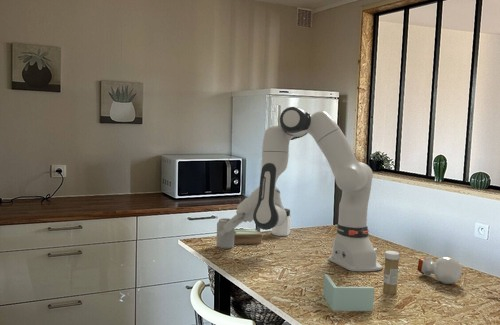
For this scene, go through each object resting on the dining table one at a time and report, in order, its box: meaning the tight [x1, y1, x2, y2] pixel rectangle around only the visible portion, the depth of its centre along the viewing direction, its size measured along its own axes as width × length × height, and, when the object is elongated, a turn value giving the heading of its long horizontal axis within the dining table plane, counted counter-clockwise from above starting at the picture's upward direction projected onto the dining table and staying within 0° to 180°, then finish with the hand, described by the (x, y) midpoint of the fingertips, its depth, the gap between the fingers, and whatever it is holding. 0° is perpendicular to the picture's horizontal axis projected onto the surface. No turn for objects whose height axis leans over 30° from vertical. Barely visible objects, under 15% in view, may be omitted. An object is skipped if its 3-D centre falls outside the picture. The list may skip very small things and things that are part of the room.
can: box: [216, 217, 235, 250], centre depth 201 cm, size 8×8×12 cm
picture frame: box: [234, 228, 262, 245], centre depth 212 cm, size 10×12×4 cm
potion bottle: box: [417, 256, 463, 285], centre depth 166 cm, size 9×10×15 cm
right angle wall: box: [322, 273, 375, 312], centre depth 143 cm, size 12×12×8 cm
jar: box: [271, 207, 291, 237], centre depth 227 cm, size 9×8×12 cm
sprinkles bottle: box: [382, 250, 400, 295], centre depth 152 cm, size 5×5×14 cm
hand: (224, 232), depth 201 cm, fingers closed on can, 7 cm apart
